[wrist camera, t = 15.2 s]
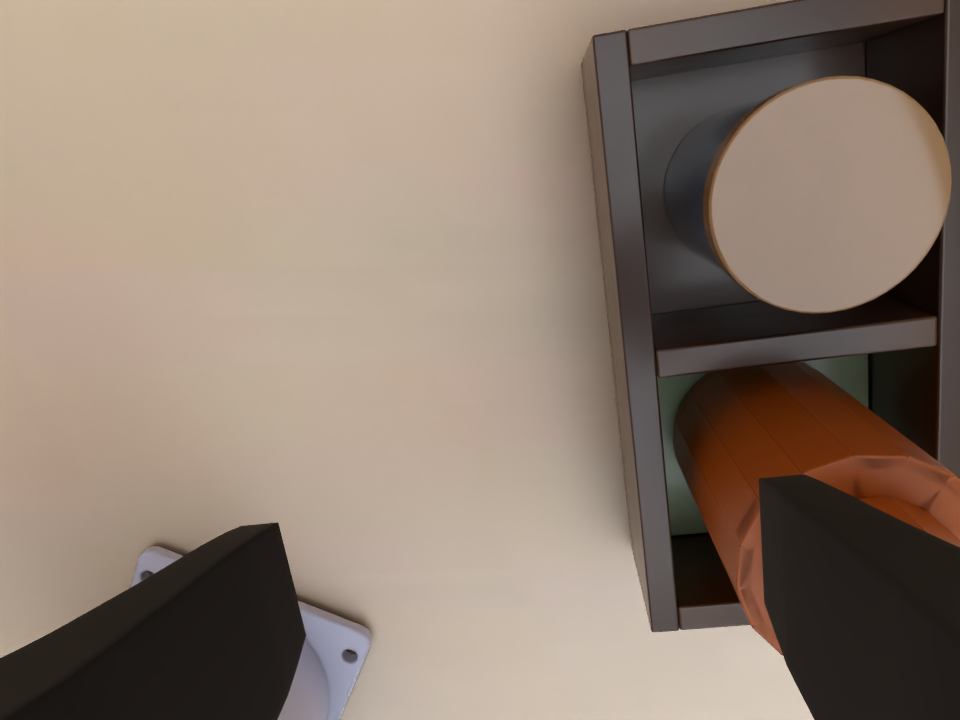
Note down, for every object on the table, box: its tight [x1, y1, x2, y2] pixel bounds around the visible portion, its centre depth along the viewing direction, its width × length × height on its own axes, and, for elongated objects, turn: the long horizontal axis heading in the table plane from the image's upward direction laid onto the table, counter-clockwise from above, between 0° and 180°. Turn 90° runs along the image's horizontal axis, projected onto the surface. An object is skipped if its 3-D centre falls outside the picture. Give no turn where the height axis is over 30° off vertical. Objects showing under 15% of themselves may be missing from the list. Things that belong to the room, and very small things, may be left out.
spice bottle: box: [673, 362, 960, 655], centre depth 16 cm, size 5×5×8 cm
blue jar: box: [664, 75, 952, 314], centre depth 15 cm, size 4×4×6 cm
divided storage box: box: [581, 0, 960, 632], centre depth 18 cm, size 7×14×4 cm, turn 9°
